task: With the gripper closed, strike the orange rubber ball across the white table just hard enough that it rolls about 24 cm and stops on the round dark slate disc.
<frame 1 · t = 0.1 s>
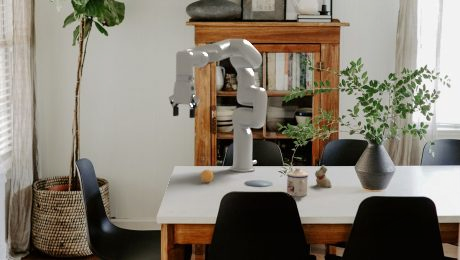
hand: (183, 116, 311), 31 cm above the table, tool pointing down, fingers open, 9 cm apart
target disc: (258, 183, 320), on the table
chocolate bunny: (323, 186, 317), on the table
ball: (206, 176, 320), on the table
teacup with lid: (298, 195, 298), on the table
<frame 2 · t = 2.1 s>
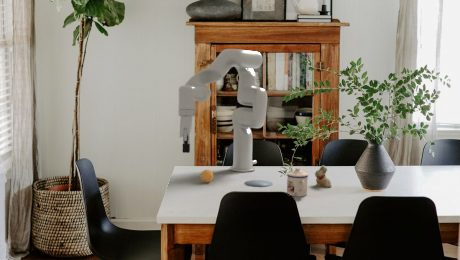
hand: (186, 152, 318), 14 cm above the table, tool pointing down, fingers closed
nothing on the table moved.
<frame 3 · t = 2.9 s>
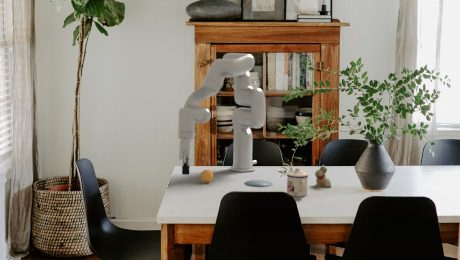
hand: (185, 174, 320), 4 cm above the table, tool pointing down, fingers closed
nothing on the table moved.
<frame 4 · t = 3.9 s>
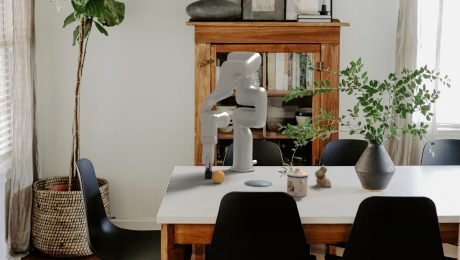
hand: (208, 179, 320), 2 cm above the table, tool pointing down, fingers closed
ball: (218, 176, 319), on the table
everything else where it was.
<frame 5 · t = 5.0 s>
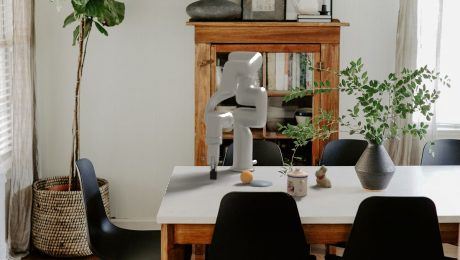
hand: (213, 179, 320), 2 cm above the table, tool pointing down, fingers closed
ball: (246, 177, 319), on the table
everything else where it was.
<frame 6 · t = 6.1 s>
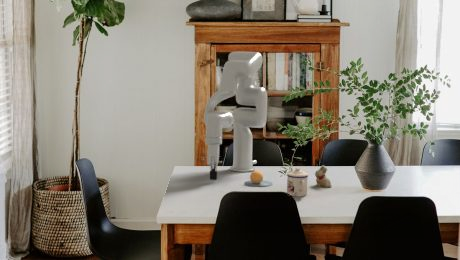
hand: (213, 179, 320), 2 cm above the table, tool pointing down, fingers closed
ball: (256, 177, 319), on the table
everything else where it was.
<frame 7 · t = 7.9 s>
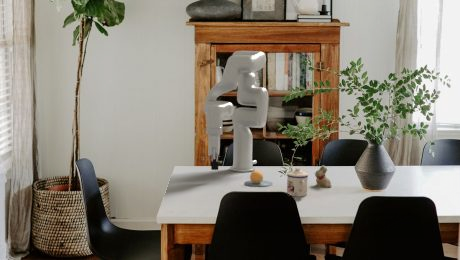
hand: (214, 169, 321), 6 cm above the table, tool pointing down, fingers closed
nothing on the table moved.
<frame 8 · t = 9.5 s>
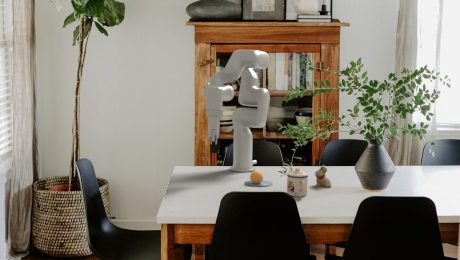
hand: (213, 152, 318), 14 cm above the table, tool pointing down, fingers closed
nothing on the table moved.
at the end: ball 1.0 cm from the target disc (horizontally); ball at rest at the end (0.0 cm/s); ball moved 23.0 cm from its start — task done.
